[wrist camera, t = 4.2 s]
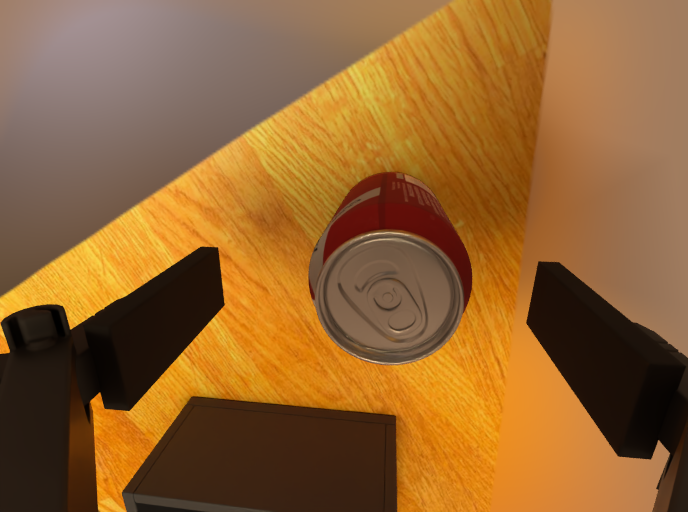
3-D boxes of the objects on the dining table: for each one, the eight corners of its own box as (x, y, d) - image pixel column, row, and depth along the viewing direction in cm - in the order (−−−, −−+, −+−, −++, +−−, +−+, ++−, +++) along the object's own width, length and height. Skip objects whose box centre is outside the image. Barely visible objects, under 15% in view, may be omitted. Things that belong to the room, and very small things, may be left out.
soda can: (410, 150, 23) (427, 176, 12) (459, 240, 25) (514, 337, 14) (320, 203, 25) (263, 269, 14) (371, 284, 27) (356, 402, 15)
